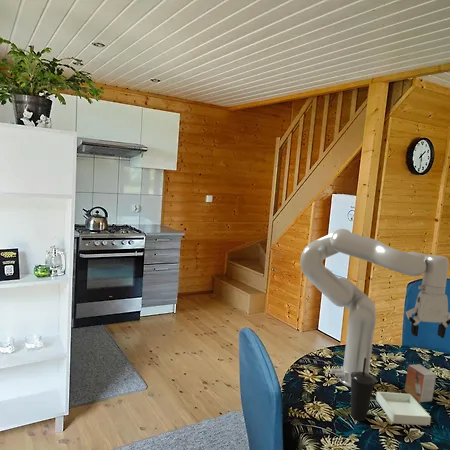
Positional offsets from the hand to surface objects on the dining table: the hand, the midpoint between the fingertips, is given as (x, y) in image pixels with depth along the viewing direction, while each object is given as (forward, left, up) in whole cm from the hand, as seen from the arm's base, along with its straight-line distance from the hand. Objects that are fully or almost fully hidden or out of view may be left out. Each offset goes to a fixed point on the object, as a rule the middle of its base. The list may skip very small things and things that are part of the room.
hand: (427, 335), depth 144 cm
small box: (0, 0, -24) cm, 24 cm away
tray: (-12, -11, -23) cm, 29 cm away
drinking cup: (-28, -16, -24) cm, 40 cm away
